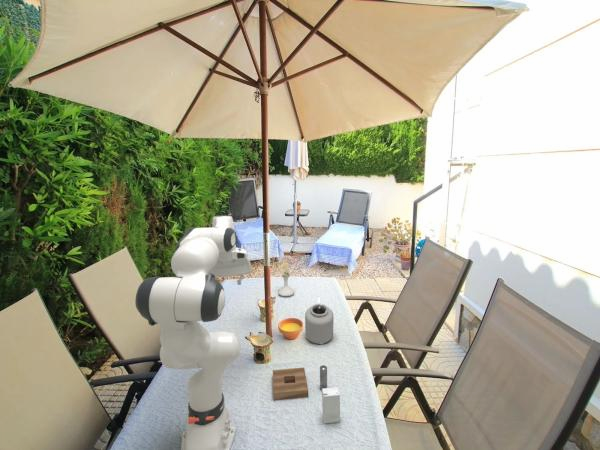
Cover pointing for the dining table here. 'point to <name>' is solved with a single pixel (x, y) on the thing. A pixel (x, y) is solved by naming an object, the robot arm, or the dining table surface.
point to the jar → (319, 323)
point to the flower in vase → (285, 281)
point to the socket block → (289, 384)
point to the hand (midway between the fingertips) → (227, 285)
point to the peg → (323, 377)
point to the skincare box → (331, 405)
